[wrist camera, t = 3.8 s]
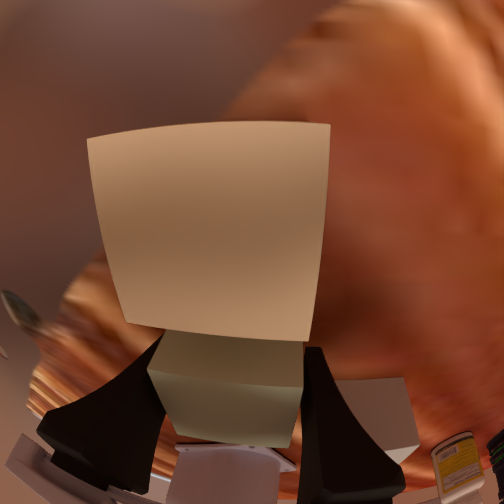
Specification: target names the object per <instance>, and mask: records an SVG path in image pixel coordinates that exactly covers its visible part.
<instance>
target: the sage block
mask: <svg viewBox="0 0 504 504" xmlns="http://www.w3.org/2000/svg"><path fill="white" fill-rule="evenodd" d="M147 371H148V373H149V376H150V378H151V380H152V383H153V385H154V387H155V389H156V392H157V394H158V396H159V398H160V400H161V402H162V405H163V407H164V409H165V411H166V413H167V415H168V417H169V419H170V421H171V423H172V425H173V427H174V429H175V431H176V432H177V434H179V435H183V436H188V437H193V438H198V439H204V440H210V441H216V442H223V443H230V444H239V445H248V446H259V447H273V448H289V445H290V441H291V437H292V434H293V430H294V426H295V422H296V418H297V414H298V409H299V405H300V401H301V396H302V392H303V341H285V340H268V339H253V338H241V337H230V336H220V335H210V334H201V333H193V332H185V331H178V330H170V329H166V331H165V333H164V335H163V337H162V339H161V341H160V343H159V345H158V347H157V349H156V351H155V353H154V355H153V357H152V359H151V361H150V363H149V365H148V367H147Z"/></svg>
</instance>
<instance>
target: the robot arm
mask: <svg viewBox="0 0 504 504" xmlns="http://www.w3.org/2000/svg"><path fill="white" fill-rule="evenodd" d="M163 335H164V334H162V335H161V336H160V337H159V338H158V339H157V340H156V341H155V342H154V343H153V344H152V345H151V346H150V347H149V348H148V349H147V350H146V351H145V352H144V353H143V354H142V355H141V356H140V357H138V358H137V359H136V360H135V361H134V362H133V363H132V364H131V365H130V366H128V367H127V368H126V369H125V370H124V371H122V372H121V373H120V374H119V375H118V376H116V377H115V378H114V379H112V380H111V381H109V382H108V383H107V384H105V385H104V386H102V387H101V388H99V389H97V390H96V391H94V392H92V393H90V394H89V395H87V396H85V397H83V398H81V399H79V400H77V401H75V402H72V403H70V404H67V405H65V406H62V407H59V408H56V409H53V410H50V411H47V412H46V414H45V416H44V417H43V419H42V421H41V423H40V424H39V426H38V428H37V429H36V431H37V434H38V435H39V436H40V437H41V438H42V439H43V440H44V441H45V442H47V443H48V444H49V445H50V446H51V447H52V448H53V449H55V452H54V454H53V455H51V454H49V453H48V452H46V451H45V449H43V448H42V447H41V446H40V445H38V444H37V443H36V442H34V441H33V440H31V439H30V438H28V437H27V436H26V435H24V434H21V435H20V437H19V439H18V441H17V443H16V444H15V446H14V448H13V450H12V452H11V454H10V456H9V457H8V459H7V461H6V463H5V467H6V468H7V469H8V470H9V471H10V472H11V473H12V474H14V475H15V476H16V477H17V478H18V479H20V480H21V481H22V482H23V483H24V484H25V485H27V486H28V487H29V488H30V489H32V490H33V491H34V492H35V493H36V494H38V495H39V496H40V497H42V498H43V499H44V500H46V501H47V502H48V503H50V504H117V502H116V501H118V502H120V503H122V504H162V503H158V502H155V501H152V500H149V499H146V498H143V497H140V496H137V495H134V494H132V493H129V492H131V491H132V492H135V493H137V494H140V495H143V494H146V493H148V490H149V482H150V474H151V468H152V463H153V458H154V453H155V449H156V444H157V440H158V436H159V433H160V429H161V426H162V423H163V420H164V417H165V415H166V411H165V409H164V407H163V405H162V402H161V400H160V398H159V396H158V394H157V392H156V389H155V387H154V385H153V383H152V380H151V378H150V376H149V373H148V371H147V367H148V365H149V363H150V361H151V359H152V357H153V355H154V353H155V351H156V349H157V347H158V345H159V343H160V341H161V339H162V337H163ZM300 407H301V424H302V456H301V469H300V480H299V489H298V497H297V504H392V503H393V501H392V497H394V496H395V495H397V494H399V493H401V492H402V491H403V490H404V489H405V487H406V484H405V478H404V474H403V471H402V468H401V466H400V465H398V464H397V463H396V462H395V461H394V460H393V459H391V458H390V457H389V456H388V455H387V454H386V453H385V452H384V451H383V450H382V449H381V448H380V447H379V446H378V445H377V444H376V442H375V441H374V440H373V439H372V438H371V437H370V435H369V434H368V433H367V432H366V431H365V430H364V428H363V427H362V426H361V424H360V423H359V421H358V420H357V419H356V417H355V416H354V414H353V413H352V411H351V410H350V408H349V407H348V405H347V403H346V402H345V400H344V398H343V396H342V395H341V393H340V391H339V389H338V387H337V385H336V383H335V381H334V379H333V377H332V374H331V372H330V370H329V367H328V365H327V362H326V360H325V357H324V354H323V351H322V348H321V347H308V346H306V348H305V354H304V360H303V392H302V396H301V401H300ZM175 449H176V450H178V451H179V452H180V453H179V457H178V460H177V463H176V466H175V470H174V473H173V476H172V480H171V483H170V486H169V490H168V493H167V497H166V504H277V498H278V488H279V478H280V472H287V471H295V470H296V469H297V467H296V466H295V465H294V464H292V463H291V462H289V461H288V460H287V459H285V458H284V457H282V456H281V455H279V454H278V453H277V452H275V451H274V450H273V449H271V448H270V447H259V446H248V445H239V444H230V443H223V444H196V445H179V444H177V445H175ZM124 490H127V491H129V492H126V491H124ZM418 504H441V498H440V497H438V498H435V499H432V500H428V501H425V502H422V503H418Z"/></svg>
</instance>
